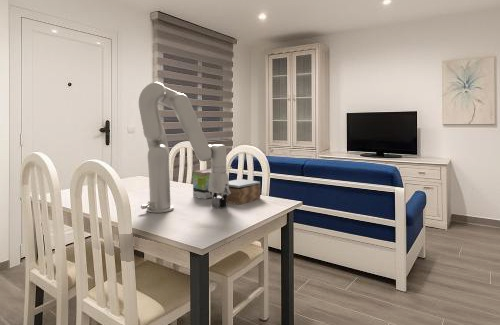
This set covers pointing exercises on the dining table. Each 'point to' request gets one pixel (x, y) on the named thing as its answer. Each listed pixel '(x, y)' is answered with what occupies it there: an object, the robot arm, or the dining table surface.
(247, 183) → the lid
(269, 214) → the dining table surface
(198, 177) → the tea box
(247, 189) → the box
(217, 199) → the block
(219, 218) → the dining table surface
